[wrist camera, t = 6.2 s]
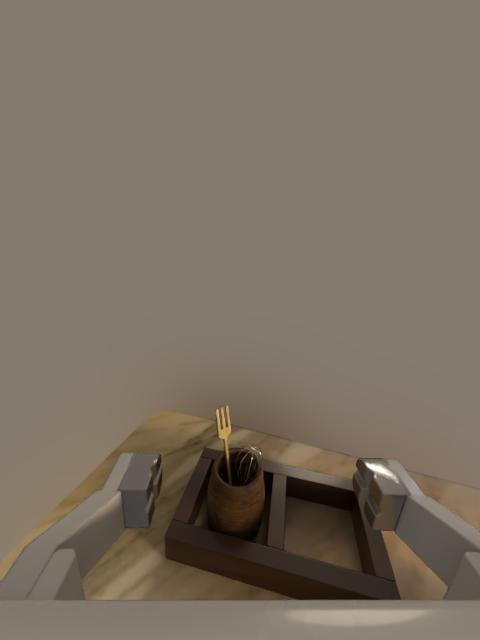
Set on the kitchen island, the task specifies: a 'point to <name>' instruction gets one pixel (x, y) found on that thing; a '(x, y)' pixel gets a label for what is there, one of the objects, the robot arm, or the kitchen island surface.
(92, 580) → the kitchen island surface
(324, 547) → the kitchen island surface
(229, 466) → the utensil holder
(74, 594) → the robot arm
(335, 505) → the rack
